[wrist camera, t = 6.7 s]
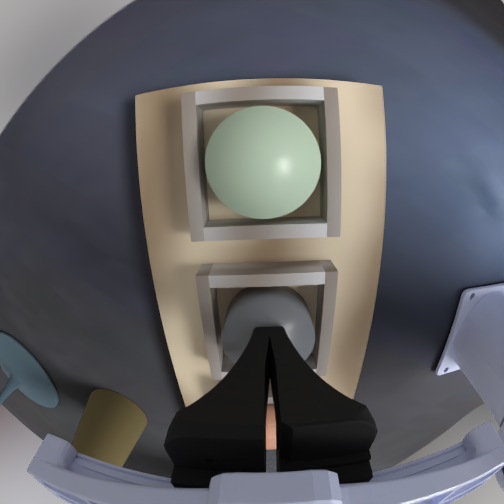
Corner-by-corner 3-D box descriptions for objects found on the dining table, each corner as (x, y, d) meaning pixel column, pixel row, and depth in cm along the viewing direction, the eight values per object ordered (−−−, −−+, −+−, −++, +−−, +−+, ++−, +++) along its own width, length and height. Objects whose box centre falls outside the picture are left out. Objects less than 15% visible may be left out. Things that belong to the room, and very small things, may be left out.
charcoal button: (311, 280, 14) (318, 299, 12) (307, 349, 15) (311, 372, 13) (222, 283, 14) (217, 302, 12) (230, 351, 15) (226, 375, 13)
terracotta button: (302, 390, 16) (306, 413, 14) (298, 427, 18) (300, 447, 16) (235, 392, 16) (232, 415, 15) (240, 428, 18) (238, 449, 16)
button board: (371, 91, 12) (394, 79, 9) (339, 419, 20) (345, 445, 17) (146, 100, 13) (121, 89, 10) (198, 422, 20) (192, 449, 17)
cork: (79, 389, 20) (29, 472, 10) (123, 387, 19) (72, 491, 9) (114, 428, 22) (80, 508, 11) (159, 429, 21) (129, 525, 11)
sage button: (309, 113, 11) (318, 105, 9) (312, 208, 13) (321, 217, 11) (211, 117, 11) (202, 110, 9) (216, 211, 13) (209, 221, 11)
